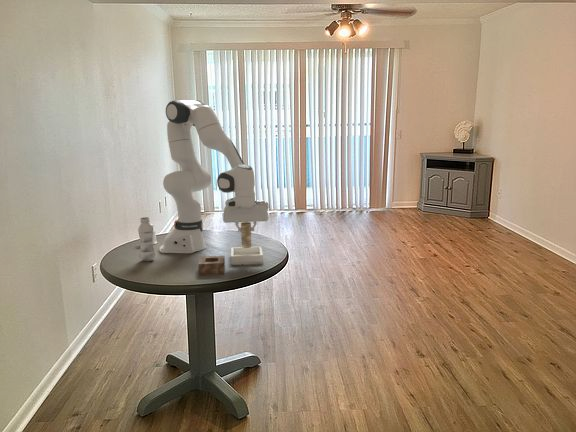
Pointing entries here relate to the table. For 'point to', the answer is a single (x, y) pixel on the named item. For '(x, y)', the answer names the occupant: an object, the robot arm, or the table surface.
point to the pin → (246, 234)
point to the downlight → (154, 235)
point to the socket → (211, 265)
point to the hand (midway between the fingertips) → (246, 231)
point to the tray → (246, 255)
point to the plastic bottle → (146, 240)
